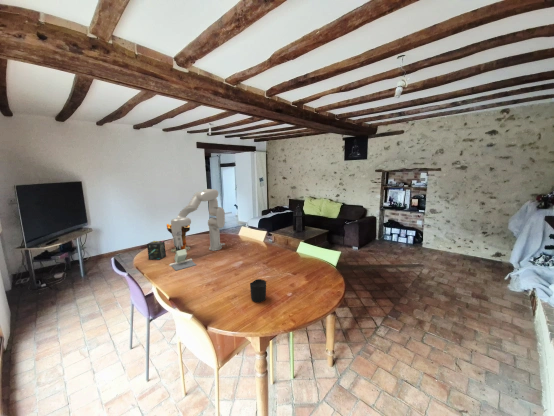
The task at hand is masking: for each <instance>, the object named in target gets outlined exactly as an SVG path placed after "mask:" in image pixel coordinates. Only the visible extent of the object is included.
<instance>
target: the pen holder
mask: <svg viewBox="0 0 554 416" xmlns="http://www.w3.org/2000/svg"><path fill="white" fill-rule="evenodd" d="M249 284H250V285H249V286H250V287H249V288H250V300H251V301H252V302H253V303H263V302H264V301H265V300H266V299H267V281H266V280H265V279H260V278H258V279H255V280H253V281H252V282H250V283H249Z"/></svg>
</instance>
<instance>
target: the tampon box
mask: <svg viewBox="0 0 554 416" xmlns="http://www.w3.org/2000/svg"><path fill="white" fill-rule="evenodd" d="M146 247H147V255H148V256H147V257H148V261H153V260H155V261H156V260H157V261H160V260H162V259H164V258H165V257H166V256H167V252H166V243H165V240H164V241H163V240H153V241H150V242H149V243H148V242H147V244H146Z"/></svg>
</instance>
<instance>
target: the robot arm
mask: <svg viewBox="0 0 554 416" xmlns="http://www.w3.org/2000/svg"><path fill="white" fill-rule="evenodd" d="M218 197H219V191H218V190H217V189H215V188H213V189H212V188H206V189H203V190H202V191H195V193H194V194H193V195H192V197H191V198H190V201H189V202H188V203H187V205H186V206H185V207H183V209H181V210H180V212H179V213H178V214H177V216H176V218H172V219H171V220H170V225H171V228H172V234H171V237H172V239H173V246H174V245H175V246H176V251H178V250H181V246H183V242H182V236H181V235H182V230H181V227H182V226H188V225H190V226H191V224H192V220H191V218H189V217H188V215H189V214H191V213H193V212H195V211H197V210H198V209H199V207H200V205H201V203H202V202H208V214H209V216H211V217H210V218H209V219H208V220H207V225H208V229H209V247H208V250H209V251H214V252H215V251H220V250H221V249H223V246H225V243H224V242H221V235H220V234H221V233H220V229H222V228H224V226H225V223H226V222H225V221H226V219H225V218H226V217H225V210H224V208H223V207H221V206H219V203H218ZM175 246H174V247H175Z"/></svg>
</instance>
